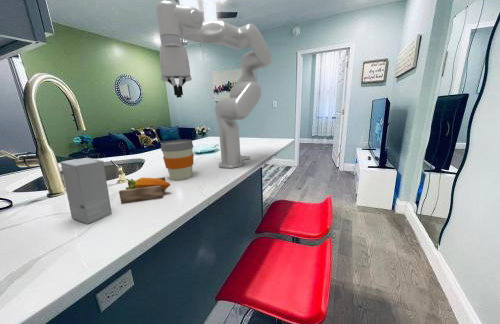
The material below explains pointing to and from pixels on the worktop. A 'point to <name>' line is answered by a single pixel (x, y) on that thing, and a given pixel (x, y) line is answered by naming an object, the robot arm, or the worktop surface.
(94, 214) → the skincare box
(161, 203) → the worktop surface
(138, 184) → the carrot
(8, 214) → the worktop surface
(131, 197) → the walnut U-rest
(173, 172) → the reusable coffee cup
